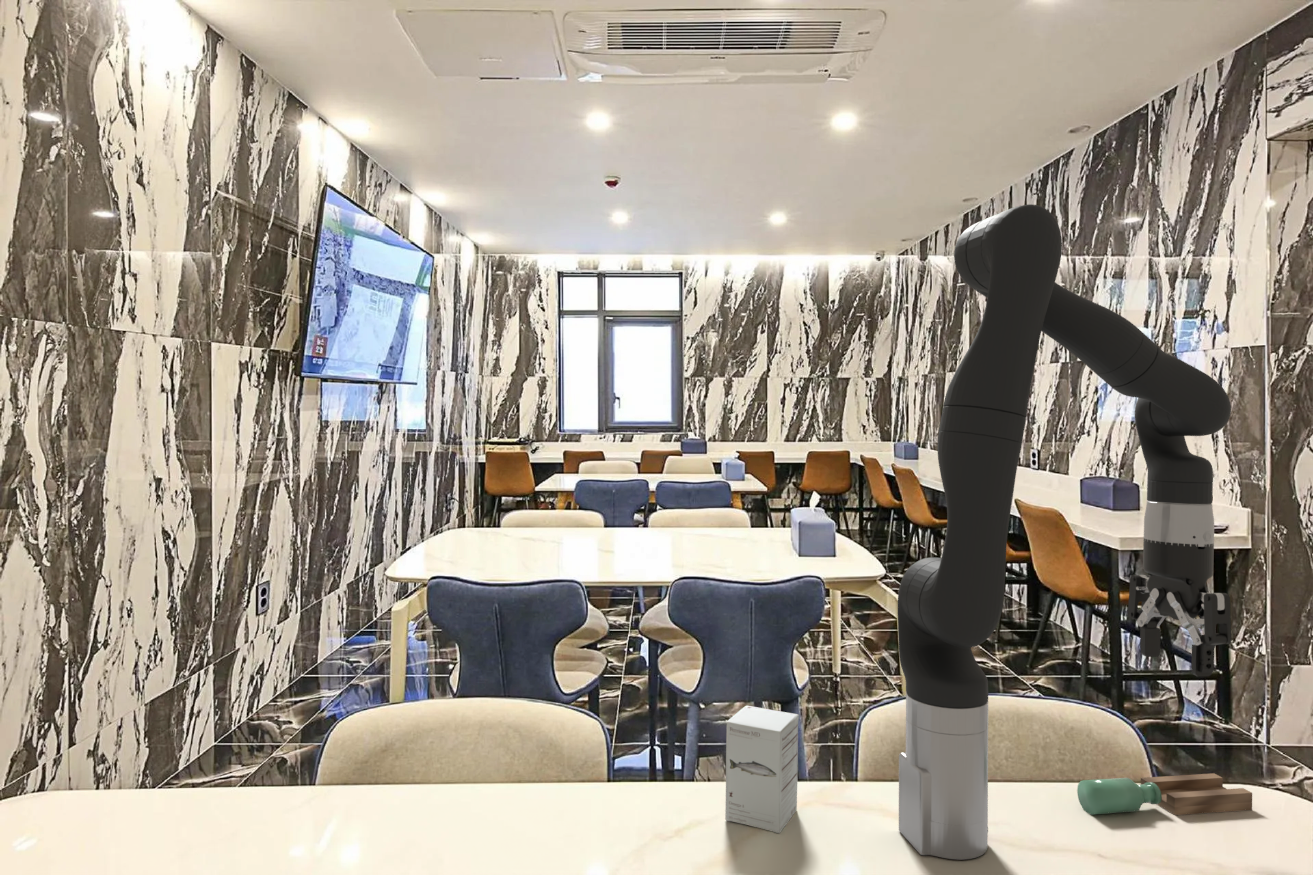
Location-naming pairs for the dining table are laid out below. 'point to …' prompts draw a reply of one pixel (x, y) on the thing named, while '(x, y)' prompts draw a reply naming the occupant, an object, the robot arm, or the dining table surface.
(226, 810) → the dining table surface
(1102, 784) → the bottle
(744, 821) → the supplement box
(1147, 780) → the bottle rest
